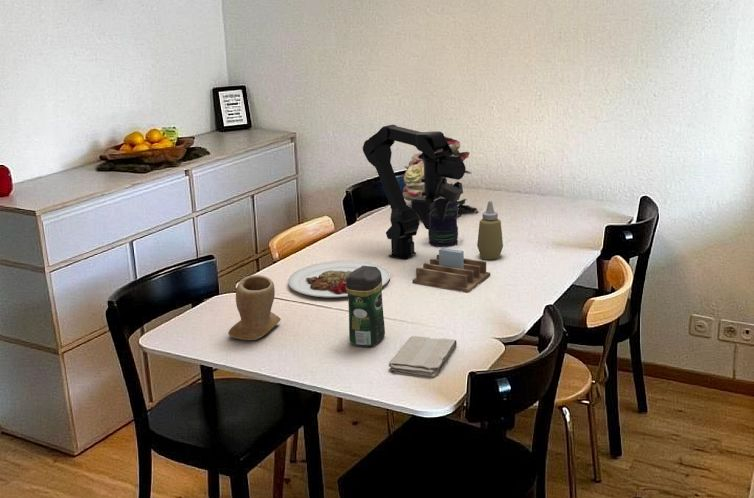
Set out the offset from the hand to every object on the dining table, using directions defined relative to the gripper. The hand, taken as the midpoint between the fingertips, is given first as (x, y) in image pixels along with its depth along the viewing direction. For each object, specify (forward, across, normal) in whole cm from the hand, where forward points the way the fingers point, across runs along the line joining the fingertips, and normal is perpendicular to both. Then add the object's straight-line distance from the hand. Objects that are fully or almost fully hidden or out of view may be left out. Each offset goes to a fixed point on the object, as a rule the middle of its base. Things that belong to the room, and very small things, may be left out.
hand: (434, 224), depth 255 cm
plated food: (+14, -25, +19) cm, 34 cm away
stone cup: (+13, -64, +18) cm, 68 cm away
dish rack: (+13, -9, -10) cm, 19 cm away
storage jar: (+13, +21, +8) cm, 26 cm away
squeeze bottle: (+13, +14, -12) cm, 23 cm away
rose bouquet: (+13, +50, +27) cm, 58 cm away
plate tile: (+12, -9, -10) cm, 18 cm away
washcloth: (+14, -59, -28) cm, 67 cm away
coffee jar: (+13, -56, -10) cm, 58 cm away
